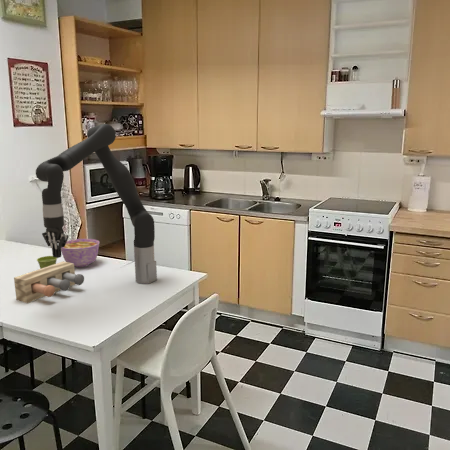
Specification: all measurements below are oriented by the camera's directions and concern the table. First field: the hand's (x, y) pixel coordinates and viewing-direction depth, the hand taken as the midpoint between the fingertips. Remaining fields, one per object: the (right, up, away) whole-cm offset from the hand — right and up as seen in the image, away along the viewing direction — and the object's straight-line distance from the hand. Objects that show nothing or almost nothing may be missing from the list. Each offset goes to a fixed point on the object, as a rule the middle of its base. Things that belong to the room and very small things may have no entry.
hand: (57, 257), depth 185 cm
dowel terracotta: (-10, -16, +10) cm, 21 cm away
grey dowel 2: (-2, -13, +23) cm, 27 cm away
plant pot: (-19, -12, +42) cm, 48 cm away
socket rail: (-12, -17, +21) cm, 29 cm away
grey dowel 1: (-6, -15, +17) cm, 23 cm away
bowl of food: (-8, -8, +58) cm, 59 cm away
